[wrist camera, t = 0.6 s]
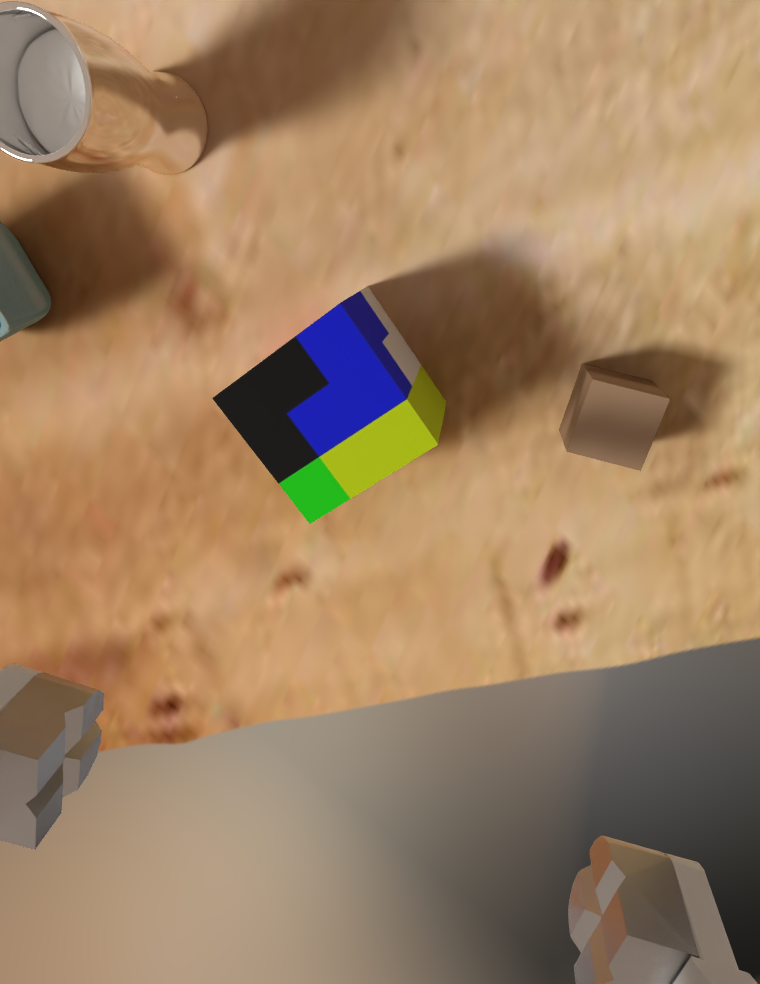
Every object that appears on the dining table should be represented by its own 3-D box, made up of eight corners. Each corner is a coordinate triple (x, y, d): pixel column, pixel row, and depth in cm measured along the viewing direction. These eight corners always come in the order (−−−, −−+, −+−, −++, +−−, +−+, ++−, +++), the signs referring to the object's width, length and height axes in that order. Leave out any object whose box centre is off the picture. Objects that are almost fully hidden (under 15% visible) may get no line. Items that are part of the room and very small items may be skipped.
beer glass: (201, 197, 46) (83, 189, 33) (107, 160, 46) (-51, 137, 33) (225, 86, 44) (107, 27, 30) (125, 47, 44) (-40, -30, 30)
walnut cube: (582, 363, 47) (592, 379, 43) (652, 380, 47) (670, 399, 42) (559, 429, 49) (566, 451, 45) (626, 446, 49) (640, 470, 44)
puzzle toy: (368, 286, 47) (340, 302, 38) (446, 402, 50) (438, 444, 40) (261, 365, 50) (212, 398, 41) (340, 470, 53) (309, 523, 44)
